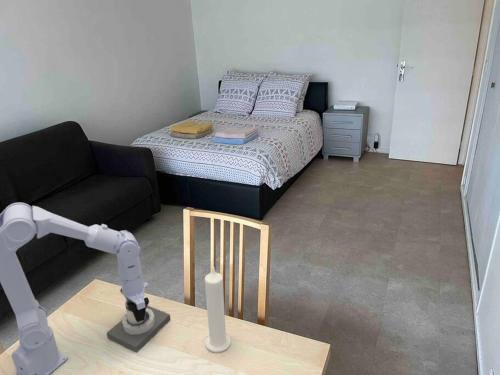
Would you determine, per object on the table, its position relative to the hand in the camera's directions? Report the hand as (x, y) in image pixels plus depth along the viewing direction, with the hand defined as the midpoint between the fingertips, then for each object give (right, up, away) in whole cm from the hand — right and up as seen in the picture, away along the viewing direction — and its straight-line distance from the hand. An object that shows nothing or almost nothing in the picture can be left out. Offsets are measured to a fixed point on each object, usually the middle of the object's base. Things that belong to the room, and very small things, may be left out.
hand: (137, 314), depth 108 cm
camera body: (0, -5, +2) cm, 5 cm away
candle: (+23, -7, -3) cm, 24 cm away
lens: (0, -2, +1) cm, 2 cm away
